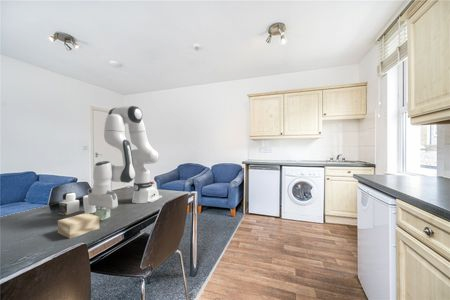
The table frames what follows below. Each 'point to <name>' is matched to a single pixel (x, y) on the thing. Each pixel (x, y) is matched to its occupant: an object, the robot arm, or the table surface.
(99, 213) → the sage cube
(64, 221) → the beech block
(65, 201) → the medicine bottle
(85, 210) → the white cup
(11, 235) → the table surface
